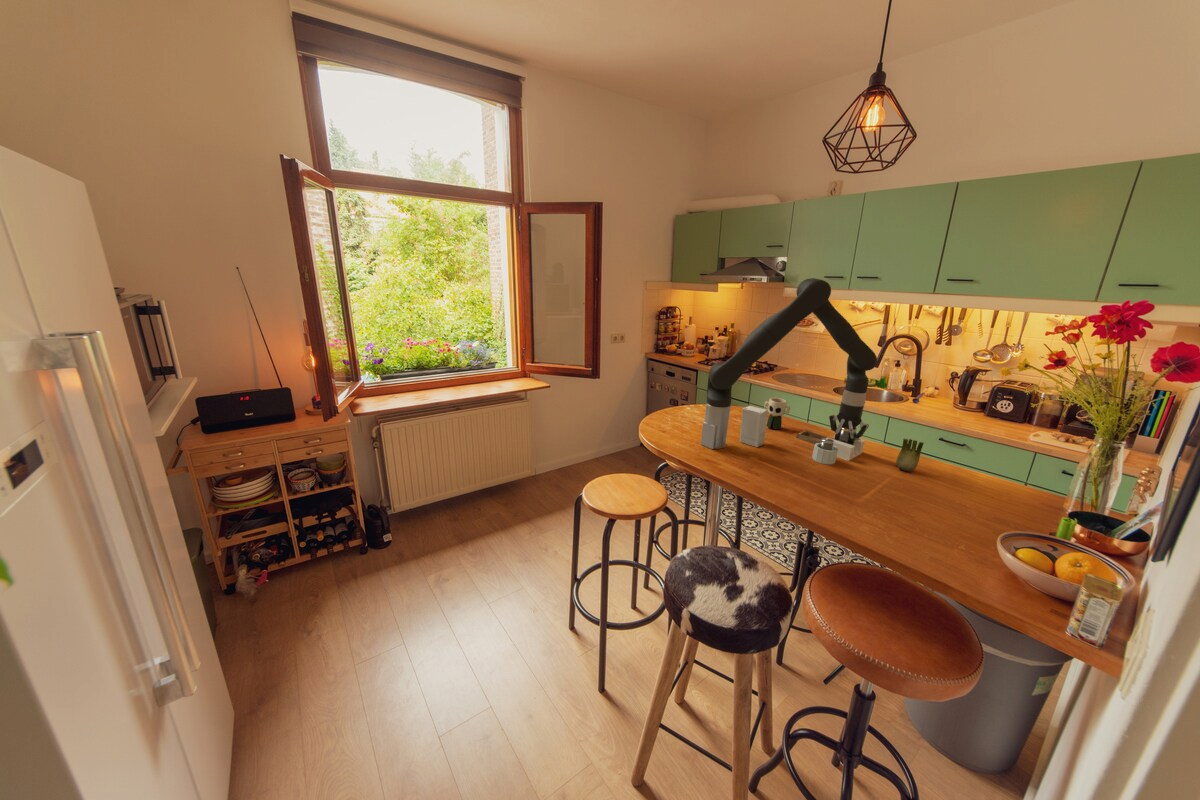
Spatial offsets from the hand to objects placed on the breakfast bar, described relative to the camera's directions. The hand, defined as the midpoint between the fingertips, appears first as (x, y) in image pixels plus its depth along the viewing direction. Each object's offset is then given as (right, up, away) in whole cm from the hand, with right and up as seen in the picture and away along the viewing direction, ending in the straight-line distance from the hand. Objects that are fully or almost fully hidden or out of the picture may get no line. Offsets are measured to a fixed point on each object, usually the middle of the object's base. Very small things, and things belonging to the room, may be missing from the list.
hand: (843, 444), depth 166 cm
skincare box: (-33, -1, +9) cm, 34 cm away
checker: (0, -4, +1) cm, 4 cm away
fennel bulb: (+16, -9, -10) cm, 21 cm away
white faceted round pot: (-11, -6, -6) cm, 14 cm away
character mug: (-16, +5, +27) cm, 32 cm away
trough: (-5, 0, +12) cm, 13 cm away
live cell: (0, -1, 0) cm, 1 cm away
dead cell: (-11, -5, -6) cm, 13 cm away
